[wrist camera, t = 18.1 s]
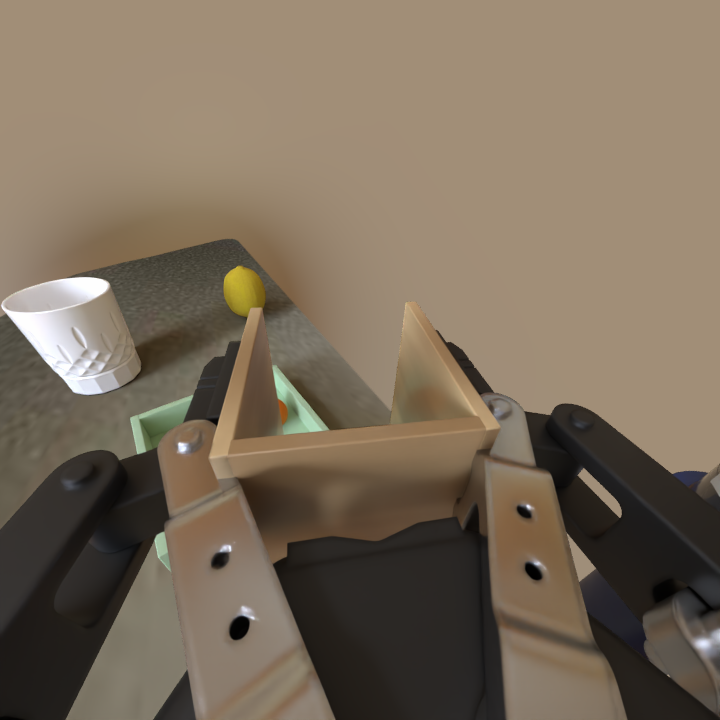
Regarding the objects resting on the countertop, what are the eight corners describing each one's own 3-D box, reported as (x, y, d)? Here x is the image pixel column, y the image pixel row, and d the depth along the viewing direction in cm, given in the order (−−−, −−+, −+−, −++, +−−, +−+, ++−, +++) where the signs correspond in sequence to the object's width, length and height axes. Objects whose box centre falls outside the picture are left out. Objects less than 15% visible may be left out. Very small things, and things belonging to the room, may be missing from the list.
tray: (279, 385, 34) (275, 364, 33) (345, 471, 26) (346, 449, 24) (143, 440, 28) (129, 417, 26) (174, 577, 20) (158, 557, 18)
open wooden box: (429, 587, 12) (502, 427, 6) (273, 614, 11) (206, 458, 6) (392, 454, 17) (415, 300, 11) (281, 467, 16) (250, 307, 10)
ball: (245, 411, 29) (252, 398, 27) (275, 400, 31) (283, 388, 29) (258, 440, 28) (266, 429, 26) (287, 427, 30) (297, 416, 28)
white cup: (155, 351, 39) (121, 274, 33) (136, 393, 33) (90, 308, 27) (82, 359, 37) (32, 279, 31) (47, 405, 31) (-23, 317, 25)
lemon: (223, 318, 46) (209, 265, 41) (255, 306, 49) (245, 256, 45) (244, 332, 43) (232, 277, 38) (276, 318, 47) (269, 266, 42)
